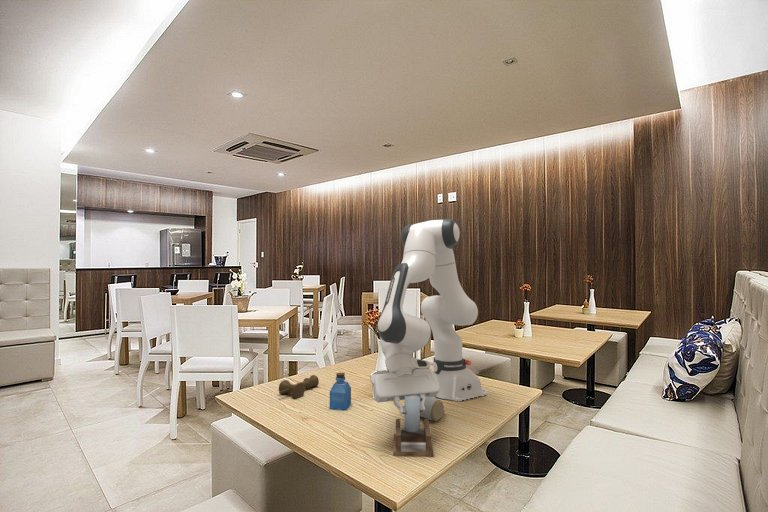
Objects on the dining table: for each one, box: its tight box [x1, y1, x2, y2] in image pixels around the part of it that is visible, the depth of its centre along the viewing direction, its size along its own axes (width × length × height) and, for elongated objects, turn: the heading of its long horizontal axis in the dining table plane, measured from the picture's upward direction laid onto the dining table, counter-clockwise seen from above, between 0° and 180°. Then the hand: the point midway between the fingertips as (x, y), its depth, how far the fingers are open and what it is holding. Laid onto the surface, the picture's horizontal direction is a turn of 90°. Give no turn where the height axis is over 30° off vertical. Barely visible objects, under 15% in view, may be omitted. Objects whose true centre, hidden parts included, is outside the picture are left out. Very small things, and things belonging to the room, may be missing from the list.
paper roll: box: [403, 395, 421, 432], centre depth 109 cm, size 4×4×9 cm
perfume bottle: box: [329, 372, 352, 411], centre depth 140 cm, size 6×6×12 cm
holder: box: [392, 418, 435, 457], centre depth 109 cm, size 11×11×6 cm
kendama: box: [278, 374, 320, 399], centre depth 154 cm, size 6×10×20 cm
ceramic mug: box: [420, 396, 446, 422], centre depth 130 cm, size 11×8×8 cm
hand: (412, 412), depth 109 cm, fingers closed on paper roll, 4 cm apart
